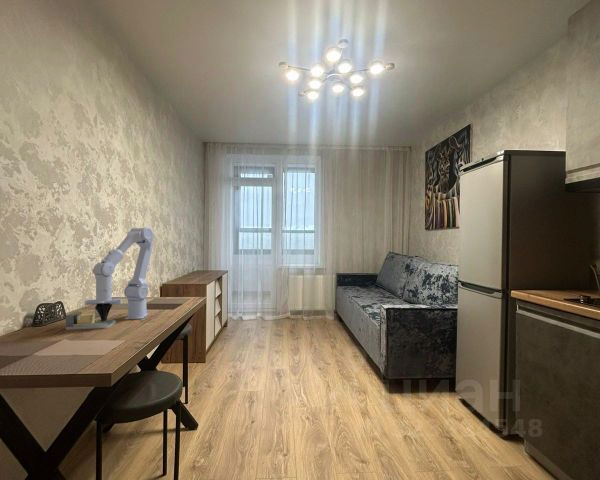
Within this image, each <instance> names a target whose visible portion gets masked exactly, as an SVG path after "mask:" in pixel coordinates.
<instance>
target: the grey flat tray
mask: <svg viewBox="0 0 600 480" xmlns="http://www.w3.org/2000/svg"><path fill="white" fill-rule="evenodd" d="M116 323H117V320H114V319H113V318H111V319H110V318H107V320H106V321H101V319H95V323H84V324H73V327H66V326H65V330H66V331H69V330H87V329H88V330H90V329H91V330H92V329H109V328H110V327H112V326H113V325H115V324H116Z"/></svg>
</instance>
